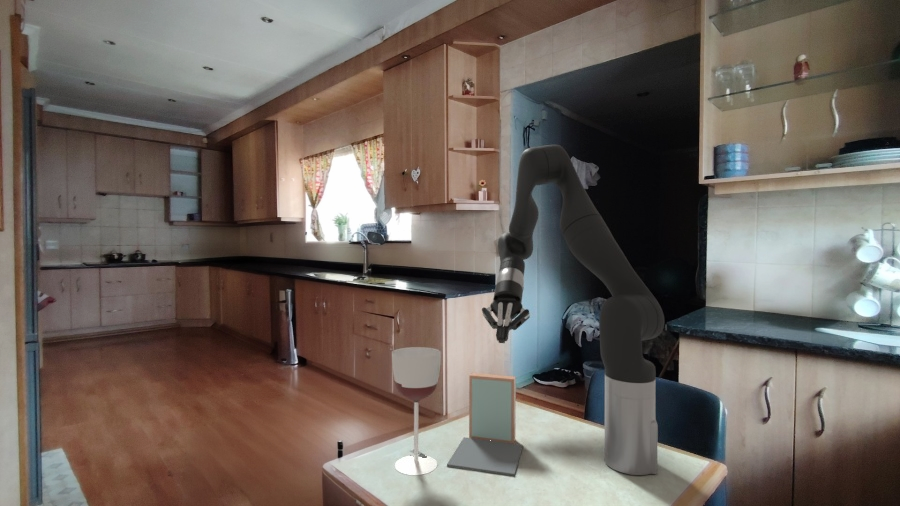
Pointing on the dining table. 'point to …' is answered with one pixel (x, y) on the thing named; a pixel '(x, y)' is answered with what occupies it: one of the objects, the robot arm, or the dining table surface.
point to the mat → (486, 456)
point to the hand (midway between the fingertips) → (501, 341)
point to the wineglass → (416, 395)
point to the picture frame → (492, 407)
